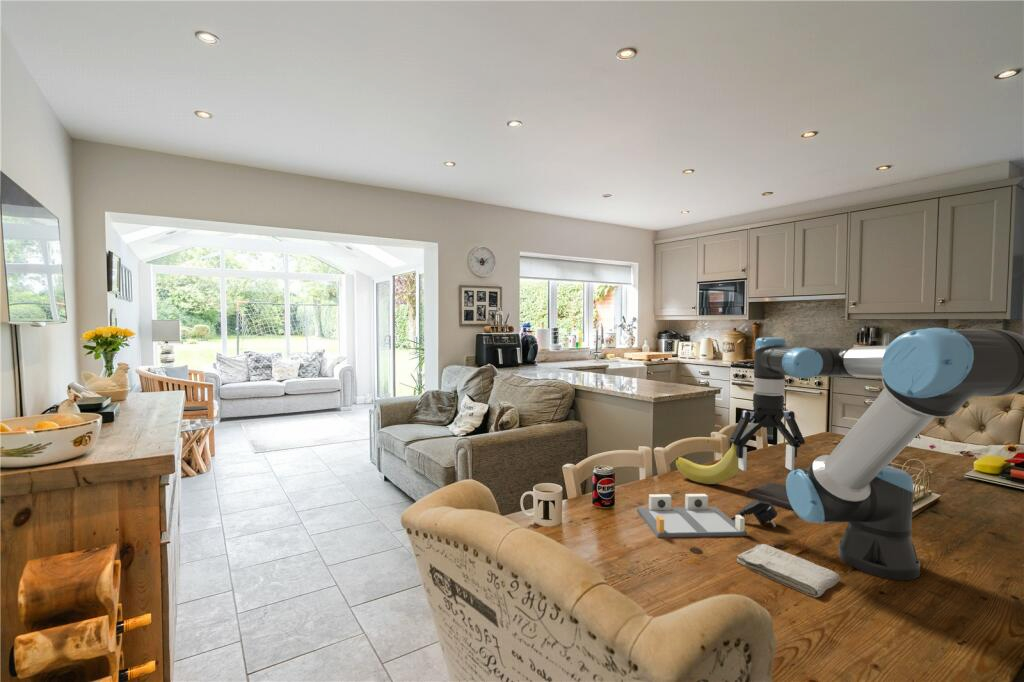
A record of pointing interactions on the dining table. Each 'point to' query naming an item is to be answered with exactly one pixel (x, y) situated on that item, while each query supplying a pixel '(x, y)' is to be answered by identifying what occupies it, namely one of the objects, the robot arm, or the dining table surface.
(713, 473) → the banana
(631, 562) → the dining table surface
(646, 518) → the board
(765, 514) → the power plug
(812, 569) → the washcloth
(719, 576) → the dining table surface
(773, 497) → the hardcover book
